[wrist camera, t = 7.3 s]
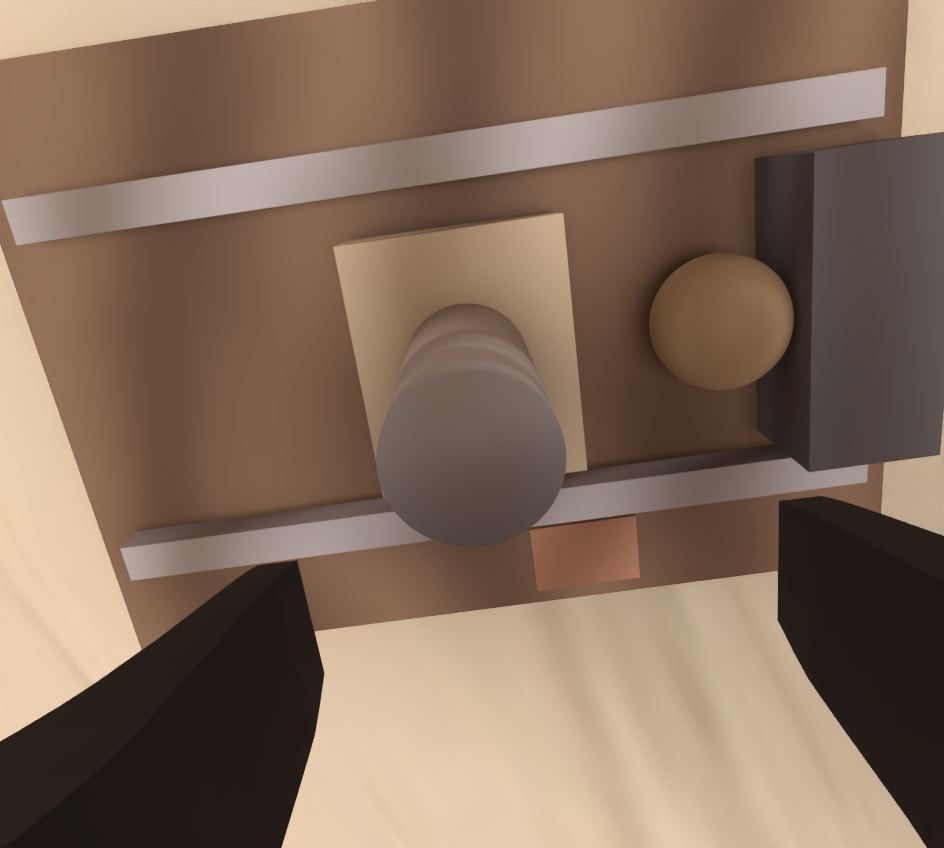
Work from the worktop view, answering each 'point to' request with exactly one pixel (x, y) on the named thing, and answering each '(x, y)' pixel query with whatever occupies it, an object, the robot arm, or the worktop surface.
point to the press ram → (467, 372)
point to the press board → (463, 201)
